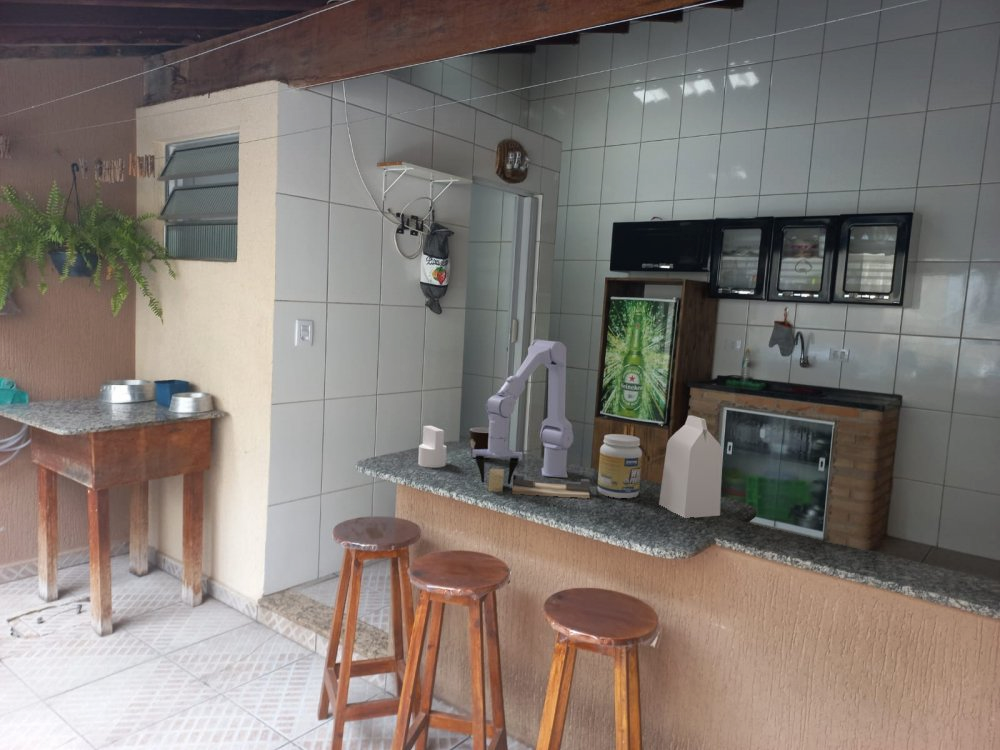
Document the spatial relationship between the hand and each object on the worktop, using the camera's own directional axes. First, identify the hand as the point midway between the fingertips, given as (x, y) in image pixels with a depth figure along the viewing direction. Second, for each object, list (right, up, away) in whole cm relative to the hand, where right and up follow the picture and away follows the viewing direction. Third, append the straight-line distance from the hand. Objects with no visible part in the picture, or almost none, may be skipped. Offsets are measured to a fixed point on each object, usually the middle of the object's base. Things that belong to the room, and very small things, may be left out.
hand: (495, 482), depth 203 cm
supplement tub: (+36, -4, +1) cm, 36 cm away
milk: (+53, -6, -11) cm, 55 cm away
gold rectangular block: (0, -2, 0) cm, 2 cm away
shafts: (+16, -2, +1) cm, 16 cm away
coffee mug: (-5, +2, +34) cm, 35 cm away
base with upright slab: (-21, +2, +25) cm, 33 cm away
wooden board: (+16, -3, 0) cm, 16 cm away
